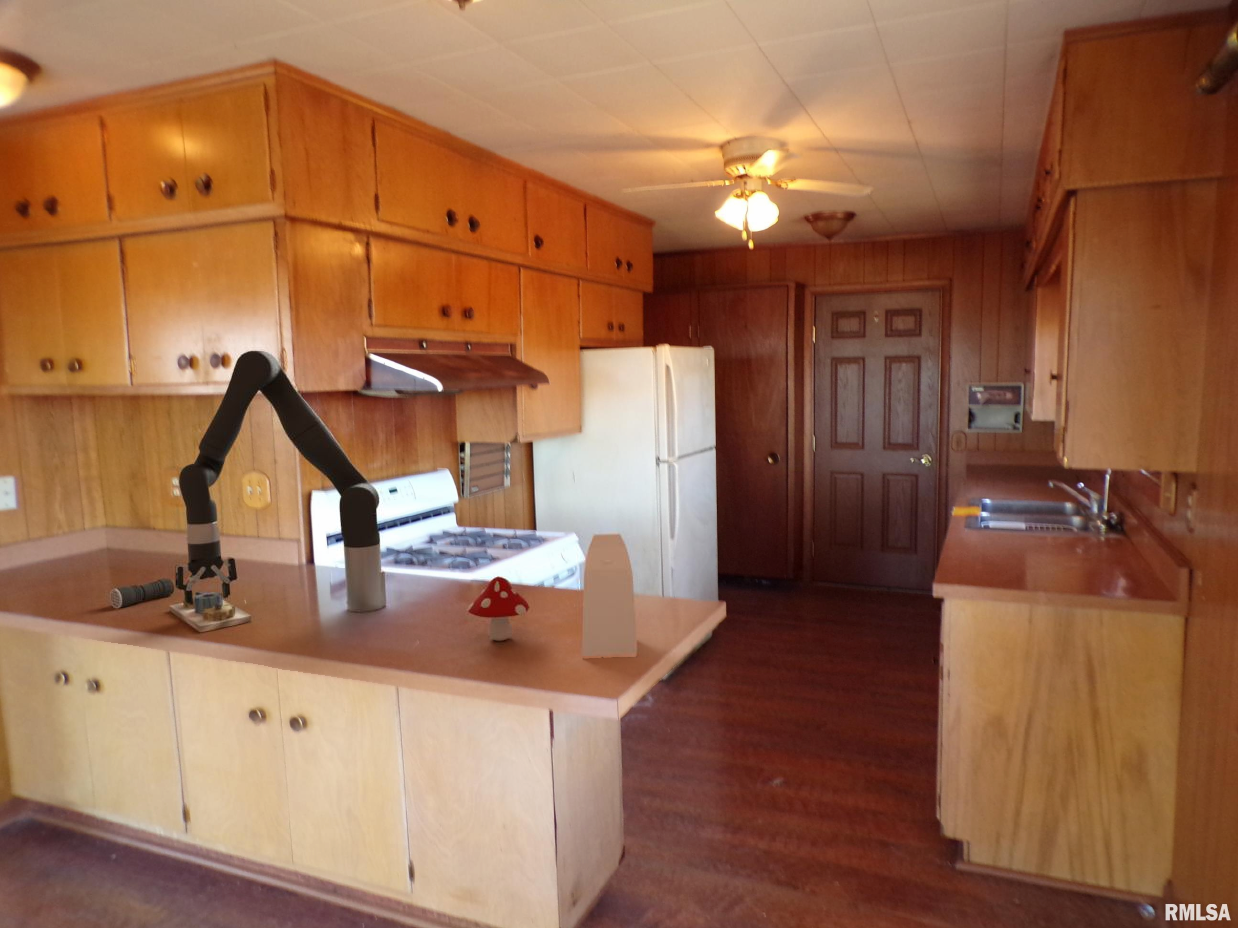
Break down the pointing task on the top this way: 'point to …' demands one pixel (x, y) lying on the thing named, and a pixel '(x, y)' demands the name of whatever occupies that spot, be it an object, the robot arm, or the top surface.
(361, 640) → the top surface
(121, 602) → the flashlight
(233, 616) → the gear board
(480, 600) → the decorative mushroom
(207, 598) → the loose gear
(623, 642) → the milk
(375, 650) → the top surface
